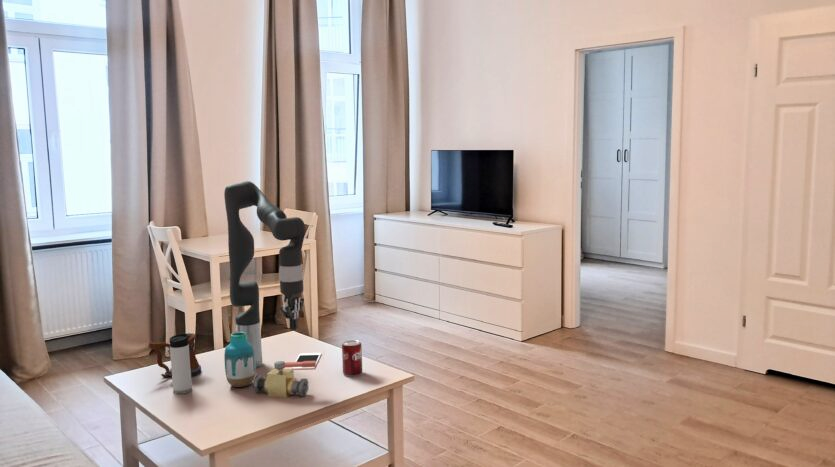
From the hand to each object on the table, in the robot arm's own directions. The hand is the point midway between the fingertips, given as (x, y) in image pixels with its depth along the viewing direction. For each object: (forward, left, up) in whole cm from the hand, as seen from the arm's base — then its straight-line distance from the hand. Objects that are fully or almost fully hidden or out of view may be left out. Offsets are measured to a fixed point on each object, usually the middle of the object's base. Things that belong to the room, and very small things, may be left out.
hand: (293, 329), depth 220 cm
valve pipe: (-8, +4, -25) cm, 26 cm away
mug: (-56, +12, -25) cm, 62 cm away
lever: (-3, +6, -15) cm, 16 cm away
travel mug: (-44, -1, -25) cm, 51 cm away
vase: (-26, +8, -25) cm, 37 cm away
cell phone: (-14, +37, -25) cm, 47 cm away
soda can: (+9, +28, -25) cm, 38 cm away
